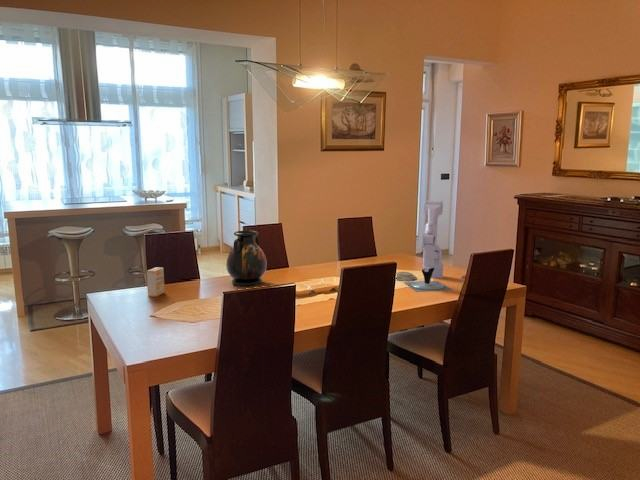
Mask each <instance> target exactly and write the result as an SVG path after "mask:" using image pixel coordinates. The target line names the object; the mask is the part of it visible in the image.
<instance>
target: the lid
mask: <svg viewBox="0 0 640 480" xmlns="http://www.w3.org/2000/svg"><path fill="white" fill-rule="evenodd" d="M434 281H435V280H432V278H430V282H429V284H427V283H425V280H418V281H417V280H415V281H412V282H413V283H411V286H412V287H413V288H416V289H421V290H440V289H443V288H444V285H445V283H442V282H441V283H439V282H440V281H439V282H434Z"/></svg>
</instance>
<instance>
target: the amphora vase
mask: <svg viewBox="0 0 640 480" xmlns="http://www.w3.org/2000/svg"><path fill="white" fill-rule="evenodd" d="M233 235H234V236H236V237H237V238H235V240H234V241H233V246H232V249H231V250H230V251H229V253H228V255H227V258H226V265H225V266H226V270H227V271H226V272H227V273H228V274H229V276H230V277H231V278H232V280H231V283H232V285H233V286H236V285H237V287H243V286H248V287H255V286H254V285H256V286H258V284H259V285H260V284H262V283H263V278H262V277H263V276H264V275H265V273H266V271H267V266H268V265H267V264H268V262H267V258H266V255H265V253H264V250H263V249H262V248H261V247H260V246H259V245H260V243H259V242H260V241H259V238H258V235H259V232H258V231H255V230H239V231H235V232H234V233H233Z"/></svg>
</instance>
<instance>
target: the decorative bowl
mask: <svg viewBox="0 0 640 480" xmlns="http://www.w3.org/2000/svg"><path fill="white" fill-rule="evenodd" d="M396 274H397V280H396V281H397V282H416V281H417V280H418V277H417V276H416V275H414V274H413V273H411V272H409V271H398V272H396Z"/></svg>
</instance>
